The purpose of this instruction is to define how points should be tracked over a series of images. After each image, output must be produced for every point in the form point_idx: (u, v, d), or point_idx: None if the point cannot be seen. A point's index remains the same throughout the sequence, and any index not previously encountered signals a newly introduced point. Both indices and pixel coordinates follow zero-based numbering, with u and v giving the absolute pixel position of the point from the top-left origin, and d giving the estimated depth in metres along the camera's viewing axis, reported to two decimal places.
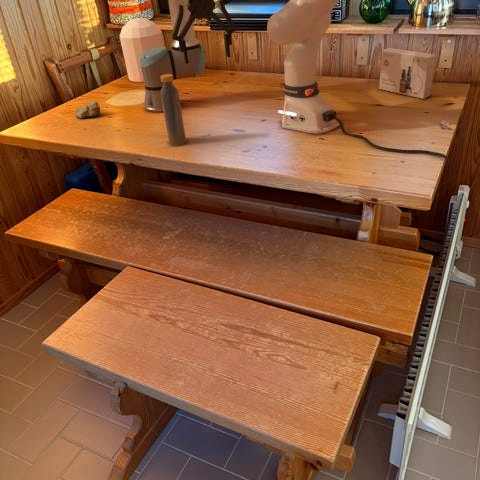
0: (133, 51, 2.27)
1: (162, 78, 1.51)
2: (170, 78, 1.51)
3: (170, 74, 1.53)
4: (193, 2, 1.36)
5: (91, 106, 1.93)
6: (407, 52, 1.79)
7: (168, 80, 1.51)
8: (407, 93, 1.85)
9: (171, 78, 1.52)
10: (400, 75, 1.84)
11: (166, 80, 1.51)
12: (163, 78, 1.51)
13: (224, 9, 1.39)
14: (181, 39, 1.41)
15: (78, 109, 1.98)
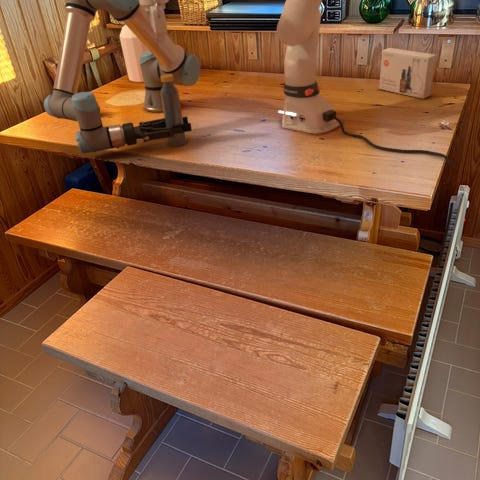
0: (133, 51, 2.27)
1: (162, 78, 1.51)
2: (170, 78, 1.51)
3: (170, 74, 1.53)
4: None
5: None
6: (407, 52, 1.79)
7: (168, 80, 1.51)
8: (407, 93, 1.85)
9: (171, 78, 1.52)
10: (400, 75, 1.84)
11: (166, 80, 1.51)
12: (163, 78, 1.51)
13: None
14: None
15: None
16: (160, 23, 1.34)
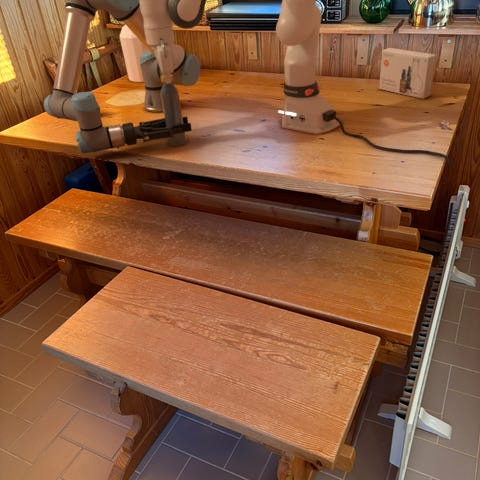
0: (133, 51, 2.27)
1: (162, 78, 1.51)
2: None
3: (170, 74, 1.53)
4: None
5: None
6: (407, 52, 1.79)
7: None
8: (407, 93, 1.85)
9: (171, 78, 1.52)
10: (400, 75, 1.84)
11: None
12: (163, 78, 1.51)
13: None
14: None
15: None
16: (167, 63, 1.41)
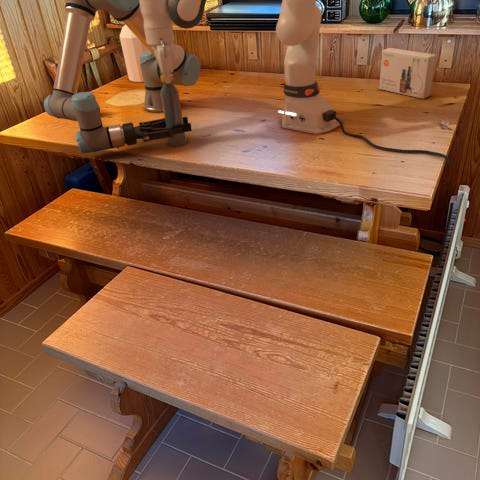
0: (133, 51, 2.27)
1: (171, 77, 1.51)
2: None
3: None
4: None
5: None
6: (407, 52, 1.79)
7: None
8: (407, 93, 1.85)
9: None
10: (400, 75, 1.84)
11: None
12: (171, 76, 1.52)
13: None
14: None
15: None
16: (166, 62, 1.41)
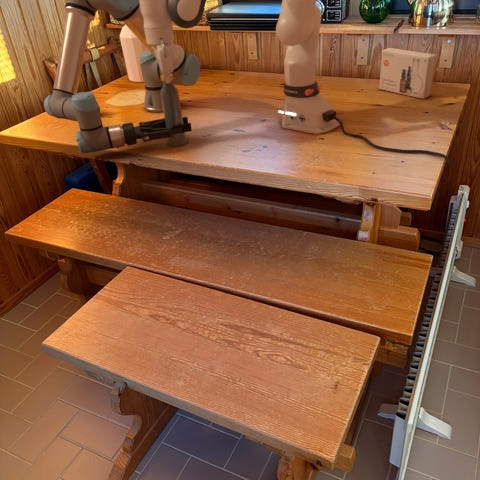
0: (133, 51, 2.27)
1: None
2: None
3: (162, 76, 1.51)
4: None
5: None
6: (407, 52, 1.79)
7: None
8: (407, 93, 1.85)
9: None
10: (400, 75, 1.84)
11: None
12: None
13: None
14: None
15: None
16: (166, 62, 1.41)
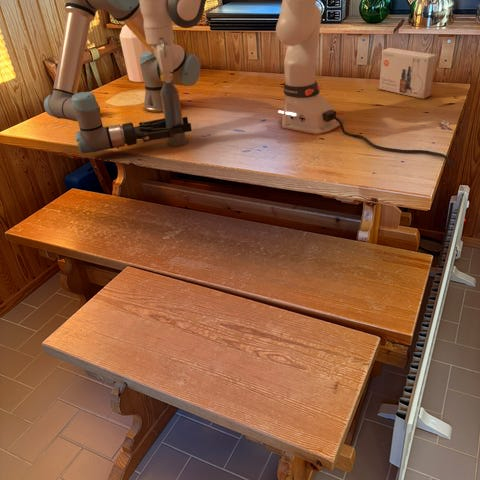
0: (133, 51, 2.27)
1: None
2: (162, 78, 1.51)
3: None
4: None
5: None
6: (407, 52, 1.79)
7: (161, 79, 1.52)
8: (407, 93, 1.85)
9: (163, 79, 1.51)
10: (400, 75, 1.84)
11: None
12: None
13: None
14: None
15: None
16: (166, 62, 1.41)
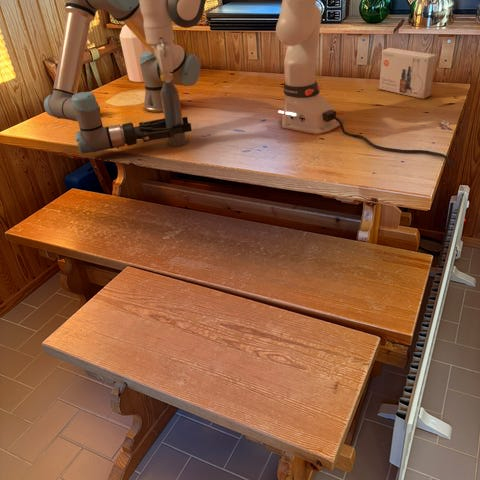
0: (133, 51, 2.27)
1: (162, 77, 1.51)
2: (170, 77, 1.51)
3: None
4: None
5: None
6: (407, 52, 1.79)
7: None
8: (407, 93, 1.85)
9: (171, 77, 1.52)
10: (400, 75, 1.84)
11: None
12: None
13: None
14: None
15: None
16: (166, 62, 1.41)
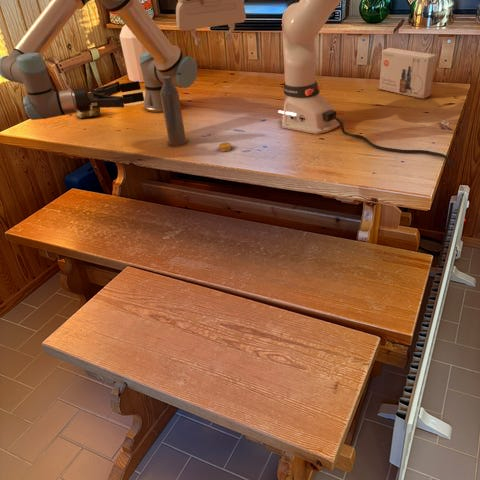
0: (133, 51, 2.27)
1: (230, 146, 1.56)
2: None
3: (221, 143, 1.57)
4: None
5: (91, 106, 1.93)
6: (407, 52, 1.79)
7: None
8: (407, 93, 1.85)
9: None
10: (400, 75, 1.84)
11: None
12: (230, 145, 1.56)
13: None
14: (119, 91, 1.58)
15: None
16: None
